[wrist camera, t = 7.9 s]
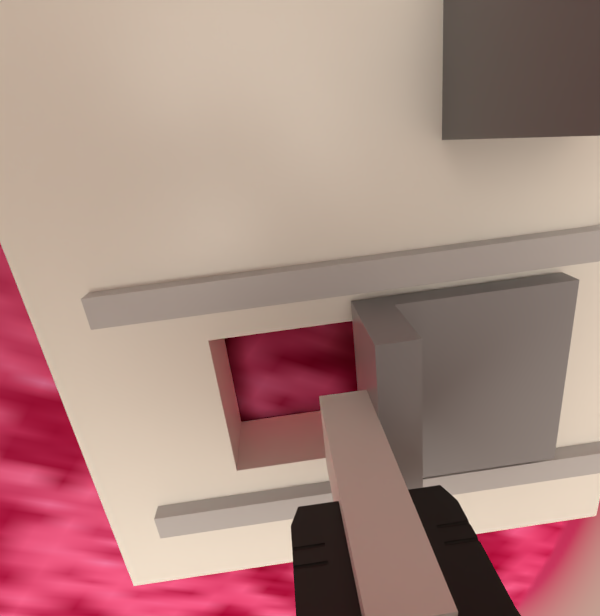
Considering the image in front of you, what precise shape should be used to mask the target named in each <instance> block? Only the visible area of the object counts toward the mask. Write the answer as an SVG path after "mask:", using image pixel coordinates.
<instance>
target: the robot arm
mask: <svg viewBox="0 0 600 616" xmlns="http://www.w3.org/2000/svg"><path fill="white" fill-rule="evenodd" d="M319 400H320V409H321V418H322V427H323V436H324V445H325V455H326V464H327V470H328V475H329V481H330V486H331V491H332V497H333V502H327V503H320V504H314V505H307V506H300V507H298V508H297V511H296V514H295V516H294V519H293V521H292V524H291V538H292V551H293V552H292V554H293V568H294V586H295V602H296V616H521V615H520V614H519V612H518V611H517V609H516V608H515V606H514V604H513V602H512V600H511V598H510V597H509V595H508V593H507V591H506V589H505V587H504V585H503V584H502V582H501V580H500V578H499V576H498V574H497V572H496V571H495V569H494V567H493V565H492V563H491V561H490V560H489V558H488V556H487V554H486V552H485V550H484V548H483V547H482V545H481V543H480V541H478V538H477V535H476V534H475V532H474V530H473V528H472V526H471V524H469V521H468V519H467V517H466V515H465V513H464V511H463V509H462V508H461V506H460V504H459V502H458V500H457V499H455V498H454V497H453V496H452V495H451V494H450V493H449V492H448V491H447V490H445V489H444V488H443V487H442V486H441V485H436V486H429V487H422V488H416V489H409V490H408V489H407V486H406V484H405V481H404V479H403V476H402V474H401V472H400V469H399V467H398V464H397V462H396V459H395V457H394V454H393V452H392V450H391V447H390V445H389V442H388V440H387V437H386V435H385V433H384V430H383V428H382V425H381V423H380V420H379V419H378V416H377V414H376V412H375V409H374V407H373V404H372V402H371V399H370V397H369V394H368V392H367V390H361V391H353V392H346V393H339V394H331V395H324V396H319Z"/></svg>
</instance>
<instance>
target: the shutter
mask: <svg viewBox="0 0 600 616" xmlns="http://www.w3.org/2000/svg"><path fill="white" fill-rule="evenodd" d="M578 287H579V279H577V278H574V277H572V276H570V275H567V274H565V273H563V272H561V273H554V274H547V275H539V276H532V277H525V278H517V279H510V280H502V281H495V282H488V283H480V284H473V285H465V286H458V287H451V288H443V289H436V290H428V291H421V292H414V293H406V294H399V295H391V296H384V297H377V298H369V299H362V300H354V301H351V309H352V322H353V336H354V349H355V362H356V376H357V389H358V391H361V390H367V392H368V394H369V397H370V399H371V402H372V404H373V407H374V409H375V412H376V414H377V416H378V419H379V420H380V423H381V425H382V428H383V430H384V433H385V435H386V437H387V440H388V442H389V445H390V447H391V450H392V452H393V454H394V457H395V459H396V462H397V464H398V467H399V469H400V472H401V474H402V476H403V479H404V481H405V484H406V486H407V489H408V490H409V489H416V488H422V487H423V478H424V477H431V476H438V475H445V474H451V473H458V472H465V471H472V470H479V469H485V468H492V467H499V466H506V465H512V464H519V463H526V462H533V461H540V460H546V459H553V458H554V457H555V450H556V443H557V435H558V428H559V421H560V414H561V407H562V400H563V393H564V386H565V379H566V372H567V365H568V358H569V351H570V344H571V337H572V330H573V322H574V315H575V308H576V301H577V294H578Z"/></svg>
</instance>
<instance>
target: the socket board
mask: <svg viewBox="0 0 600 616" xmlns="http://www.w3.org/2000/svg"><path fill="white" fill-rule="evenodd" d="M442 82H443V0H0V243H1V246H2V248H3V251H4V253H5V256H6V259H7V261H8V264H9V266H10V269H11V271H12V274H13V277H14V279H15V282H16V284H17V287H18V289H19V292H20V295H21V297H22V300H23V302H24V305H25V307H26V310H27V313H28V315H29V318H30V320H31V323H32V325H33V328H34V330H35V333H36V336H37V338H38V341H39V343H40V346H41V348H42V351H43V354H44V356H45V359H46V361H47V364H48V366H49V369H50V372H51V374H52V377H53V379H54V382H55V384H56V387H57V390H58V392H59V395H60V397H61V400H62V402H63V405H64V408H65V410H66V413H67V415H68V418H69V420H70V423H71V426H72V428H73V431H74V433H75V436H76V438H77V441H78V444H79V446H80V449H81V451H82V454H83V456H84V459H85V462H86V464H87V467H88V469H89V472H90V474H91V477H92V480H93V482H94V485H95V487H96V490H97V492H98V495H99V498H100V500H101V503H102V505H103V508H104V510H105V513H106V515H107V518H108V521H109V523H110V526H111V528H112V531H113V533H114V536H115V539H116V541H117V544H118V546H119V549H120V551H121V554H122V557H123V559H124V562H125V564H126V567H127V569H128V572H129V575H130V577H131V580H132V582H133V585H134V586H137V585H143V584H150V583H156V582H163V581H170V580H176V579H183V578H189V577H196V576H203V575H209V574H216V573H222V572H229V571H236V570H242V569H249V568H255V567H262V566H269V565H275V564H282V563H288V562H293V554H292V552H293V551H292V538H291V524H292V521H293V519H294V516H295V514H296V511H297V508H298V507H300V506H307V505H314V504H320V503H327V502H333V497H332V491H331V486H330V481H329V475H328V470H327V464H326V455H325V445H324V436H323V427H322V418H321V410H320V411H313V412H306V413H299V414H292V415H285V416H278V417H271V418H264V419H257V420H250V421H243V422H241V418H240V413H239V408H238V403H237V398H236V393H235V388H234V383H233V378H232V373H231V369H230V364H229V359H228V354H227V349H226V344H225V339H224V338H231V337H238V336H245V335H253V334H260V333H267V332H275V331H282V330H289V329H297V328H304V327H311V326H319V325H326V324H333V323H341V322H348V321H352V309H351V301H354V300H362V299H369V298H377V297H384V296H391V295H399V294H406V293H414V292H421V291H428V290H436V289H443V288H451V287H458V286H465V285H473V284H480V283H488V282H495V281H502V280H510V279H517V278H525V277H532V276H539V275H547V274H554V273H561V272H563V273H565V274H567V275H570V276H572V277H574V278H577V279H579V287H578V294H577V301H576V308H575V315H574V322H573V330H572V337H571V344H570V351H569V358H568V365H567V372H566V379H565V386H564V393H563V400H562V407H561V414H560V421H559V428H558V435H557V443H556V450H555V457H554V458H553V459H546V460H540V461H533V462H526V463H519V464H512V465H506V466H499V467H492V468H485V469H479V470H472V471H465V472H458V473H451V474H445V475H438V476H431V477H424V478H423V487H429V486H436V485H441V486H442V487H443V488H444V489H445V490H447V491H448V492H449V493H450V494H451V495H452V496H453V497H454V498H455V499H457V500H458V502H459V504H460V506H461V508H462V509H463V511H464V513H465V515H466V517H467V519H468V521H469V524H471V526H472V528H473V530H474V532H475V534H480V533H486V532H493V531H499V530H506V529H513V528H519V527H526V526H532V525H539V524H546V523H552V522H559V521H565V520H571V519H578V518H585V517H592V516H596V514H597V510H598V505H599V500H600V136H568V137H532V138H496V139H461V140H442Z"/></svg>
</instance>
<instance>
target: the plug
mask: <svg viewBox="0 0 600 616" xmlns="http://www.w3.org/2000/svg"><path fill="white" fill-rule="evenodd" d="M568 136H600V0H443V82H442V140H461V139H496V138H532V137H568Z"/></svg>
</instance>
